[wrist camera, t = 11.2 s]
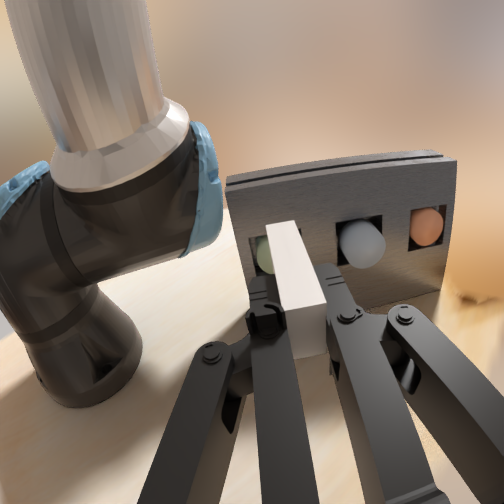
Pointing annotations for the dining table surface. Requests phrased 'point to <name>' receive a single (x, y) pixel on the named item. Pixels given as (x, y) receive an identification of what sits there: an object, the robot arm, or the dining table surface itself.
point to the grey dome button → (361, 243)
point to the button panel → (352, 216)
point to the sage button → (264, 254)
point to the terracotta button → (425, 225)
